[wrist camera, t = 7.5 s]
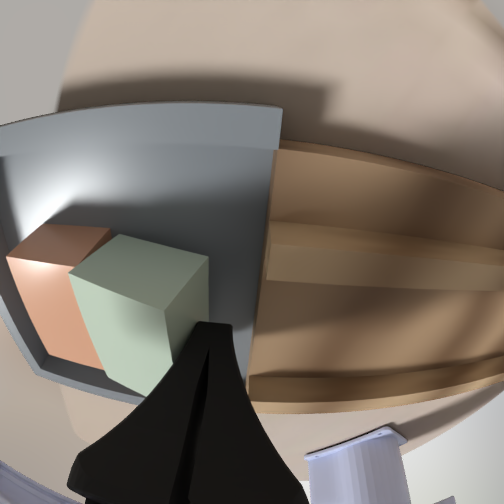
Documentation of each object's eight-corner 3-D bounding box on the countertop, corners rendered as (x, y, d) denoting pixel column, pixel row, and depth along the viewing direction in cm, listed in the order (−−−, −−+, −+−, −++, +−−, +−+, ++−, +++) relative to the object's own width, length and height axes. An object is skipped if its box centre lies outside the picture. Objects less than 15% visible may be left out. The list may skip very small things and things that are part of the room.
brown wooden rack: (577, 225, 10) (604, 248, 7) (504, 359, 18) (519, 386, 15) (274, 138, 10) (281, 160, 7) (245, 381, 17) (243, 430, 14)
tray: (277, 105, 9) (283, 109, 7) (244, 390, 18) (242, 419, 16) (-22, 132, 9) (-50, 143, 7) (47, 353, 17) (35, 374, 15)
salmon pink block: (110, 228, 11) (76, 267, 9) (130, 328, 14) (112, 371, 12) (42, 223, 11) (5, 256, 9) (71, 317, 14) (48, 354, 12)
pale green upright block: (208, 256, 10) (164, 310, 8) (209, 363, 13) (183, 412, 11) (119, 233, 11) (67, 272, 8) (139, 336, 14) (108, 377, 11)
